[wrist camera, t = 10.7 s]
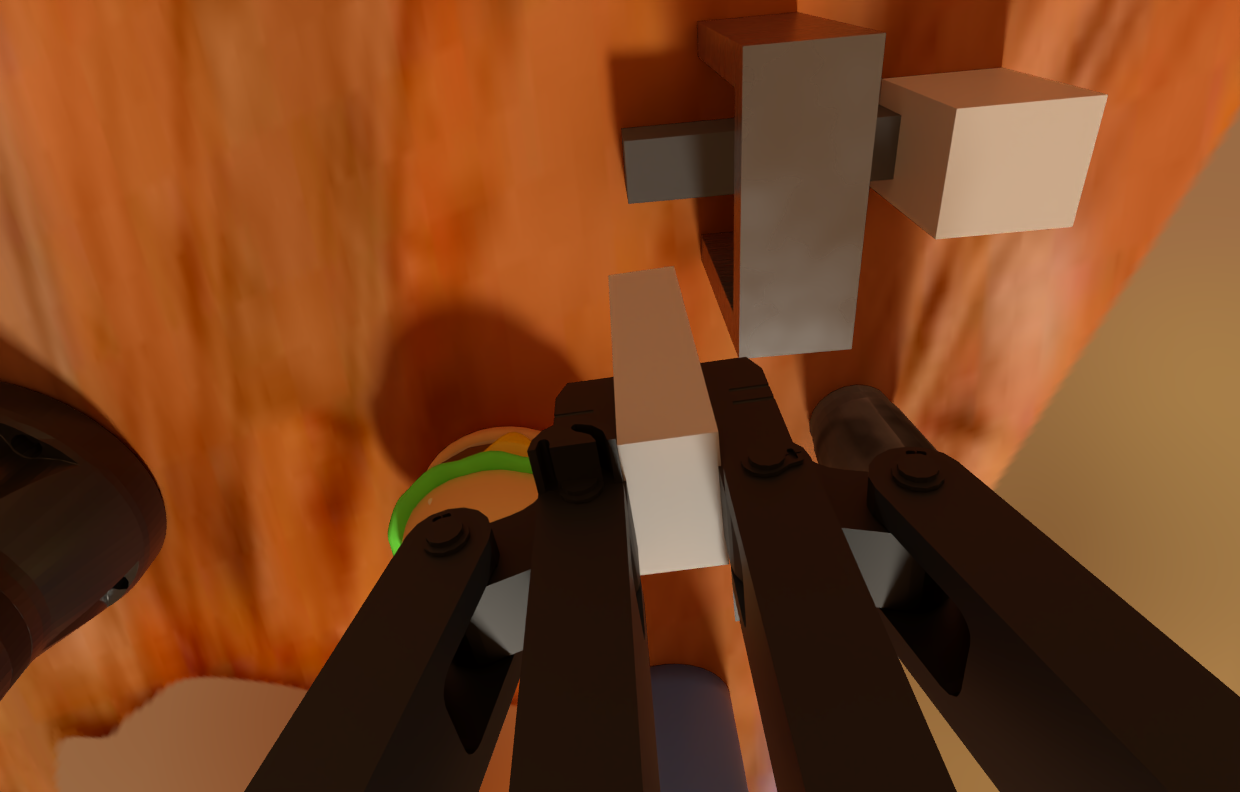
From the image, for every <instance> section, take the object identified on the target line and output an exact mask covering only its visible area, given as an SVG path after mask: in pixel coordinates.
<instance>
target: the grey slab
mask: <svg viewBox="0 0 1240 792" xmlns="http://www.w3.org/2000/svg"><path fill="white" fill-rule="evenodd" d="M697 39H698V57H699V58H700V59H702V60H703V61H704V62H705V63H706V64H707V65H709V66H710V67H711V68H712V69H713V70H714V71H716V72H717V73H718V74H719V75H720V76H721V77H723V78H724V79H725V80H726V81H727V82H728V83H730V84H731V85H732V86H733V87H734V88H735V143H734V232H724V233H713V234H702V235H701V255H702V263H703V265H704V268H705V270H706V273H707V276H708V278H709V281H710V284H711V286H712V289H713V292H714V294H715V297H716V300H717V302H718V305H719V307H720V310H721V313H722V315H723V318H724V321H725V323H726V326H727V329H728V331H729V334H730V337H731V339H732V342H733V344H734V347H735V350H736V352H737V355H738V358H740V357H747V358H756V357H767V356H779V355H790V354H801V353H813V352H824V351H835V350H847V349H852V341H853V331H854V322H855V313H856V304H857V295H858V286H859V277H860V268H861V258H862V249H863V240H864V231H865V222H866V213H867V204H868V194H869V185H870V176H871V167H872V158H873V149H874V140H875V130H876V121H877V112H878V103H879V94H880V85H881V76H882V67H883V57H884V48H885V39H886V33H884V32H880V31H876V30H872V29H867V28H863V27H859V26H855V25H850V24H846V23H842V22H837V21H833V20H829V19H825V18H820V17H816V16H812V15H808V14H803V13H799V12H794V13H784V14H773V15H762V16H751V17H741V18H730V19H719V20H708V21H698V22H697Z"/></svg>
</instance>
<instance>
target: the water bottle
mask: <svg viewBox="0 0 1240 792" xmlns="http://www.w3.org/2000/svg"><path fill="white" fill-rule="evenodd" d="M650 675H651V687H652V698H653V710H654V722H655V734H656V746H657V757H658V769H659V781H660V792H748V787H747V782H746V777H745V771H744V766H743V761H742V755H741V750H740V745H739V740H738V735H737V729H736V724H735V719H734V714H733V709H732V703H731V698H730V693H729V690H728V688H727V686H726V684H725V683H724V682H723V681H722V680H721V679H720V678H719V677H718V676H716V675H715V674H713V673H712V672H710V671H707V670H705V669H703V668H699V667H695V666H691V665H682V664H665V665H658V666H652V667H650Z"/></svg>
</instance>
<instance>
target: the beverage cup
mask: <svg viewBox="0 0 1240 792" xmlns="http://www.w3.org/2000/svg"><path fill="white" fill-rule="evenodd" d="M810 433H811V435H812V437H813V443H814V451H815V454H816V457H817V461H818V464H820V465H824V466H827V467H830V468H837V469H843V470H855V471H867V472H868V470H869V464H870V463H871V462H872V460H873V459H874V458H875V457H876V455H879V454H881V453H883V452H885V451H887V450H889V449H893V448H900V447H906V446H908V447H922V448H928V449H931V450H935V451H937V450H936V449H935V448H934V447H933V446H932V444H931V443H930V442H929V441H928V440H927V439H926V438H925V437H924V436H923V435H922V433H921V432H920V431H919V430H918V429H917V428H916V427H915V426H914V425H913V423H912V422H911V421H910V420H909V419H908V418H907V417H906V416H905V415H904V414H903V412H902V411H901V410H900V409H899V408H897V407H896V406H895V405H894V404H893V403H891V402H890V401H889V399H888V398H887V397H886V396H885V395H884V394H883V393H882V392H881V391H880V390H877V389H875V388H873V387H870V386H864V385H853V386H847V387H843V388H840V389H838V390H836V391H834V392H831V393H830V394H829V395H827V396H826V397H825V398H824V399H822V400H821V401H820V402H819V404H818V405H817V406H816V408H815V409H814V410H813V413H812V416H811V419H810ZM898 658H899V657H898Z"/></svg>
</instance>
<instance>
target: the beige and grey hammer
mask: <svg viewBox="0 0 1240 792" xmlns="http://www.w3.org/2000/svg"><path fill="white" fill-rule="evenodd" d="M1107 97H1108V94H1104V93H1100V92H1096V91H1092V90H1088V89H1084V88H1080V87H1076V86H1073V85H1069V84H1065V83H1061V82H1057V81H1053V80H1049V79H1045V78H1041V77H1037V76H1033V75H1030V74H1026V73H1022V72H1018V71H1014V70H1010V69H1006V68H1002V67H1001V68H991V69H980V70H969V71H959V72H948V73H938V74H927V75H916V76H906V77H895V78H885V79H882V82H881V91H880V100H879V104H878V112H877V121H876V130H875V140H874V149H873V158H872V167H871V176H870V181H871V183H870V187H871V188H872V189H873V190H875V191H876V192H877V193H878V194H880V195H881V196H882V197H883V198H885V199H886V200H887V201H888V202H890V203H891V204H892V205H893V206H895V207H896V208H897V209H898V210H900V211H901V212H902V213H903V214H905V215H906V216H907V217H908V218H910V219H911V220H912V221H913V222H915V223H916V224H917V225H918V226H919V227H921V228H922V229H923V230H924V231H926V232H927V233H928V234H929V235H931V236H932V237H933V238H934V239H944V238H955V237H966V236H977V235H988V234H999V233H1010V232H1021V231H1032V230H1042V229H1053V228H1064V227H1072V226H1073V223H1074V219H1075V215H1076V212H1077V208H1078V204H1079V201H1080V197H1081V193H1082V189H1083V186H1084V182H1085V178H1086V175H1087V171H1088V167H1089V164H1090V160H1091V156H1092V152H1093V149H1094V145H1095V141H1096V138H1097V134H1098V130H1099V127H1100V123H1101V119H1102V115H1103V112H1104V108H1105V104H1106V101H1107ZM621 131H622V144H623V157H624V170H625V183H626V191H627V198H628V204H632V203H643V202H653V201H664V200H675V199H686V198H697V197H707V196H718V195H729V194H734V143H735V118H728V119H717V120H707V121H696V122H686V123H675V124H664V125H654V126H643V127H632V128H622V129H621Z"/></svg>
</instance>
